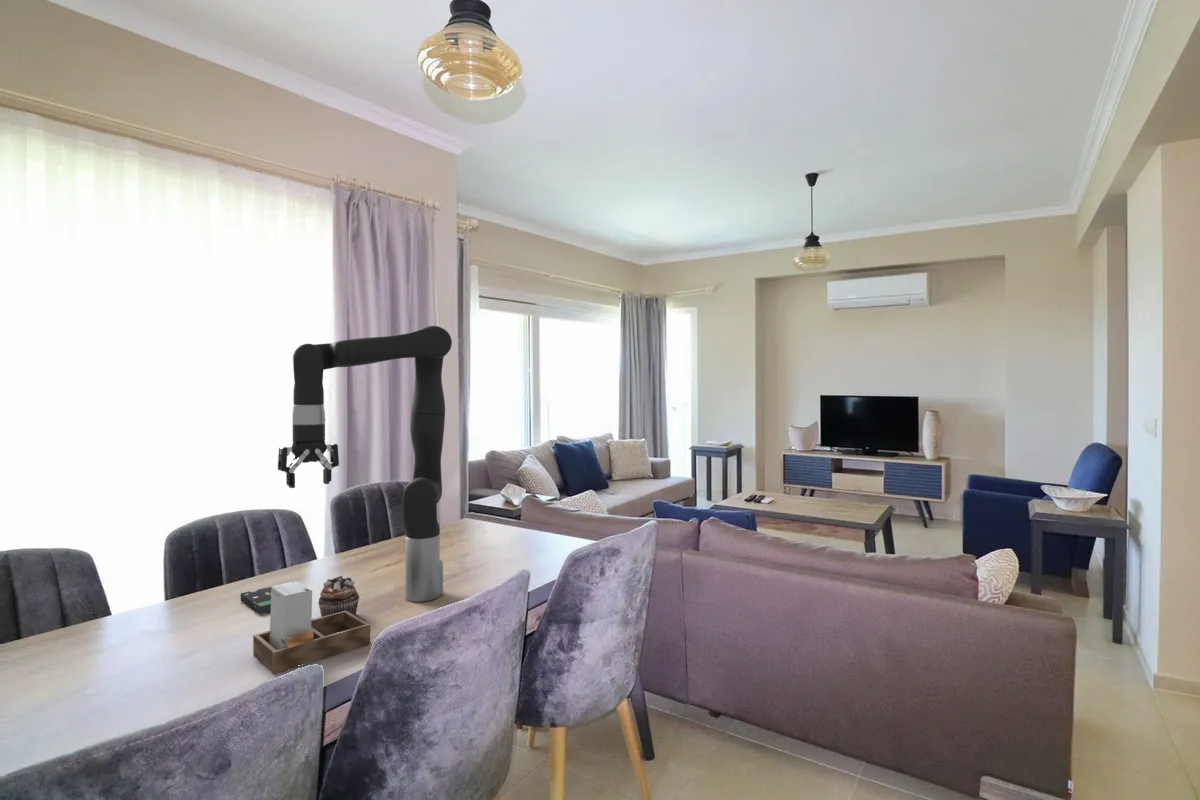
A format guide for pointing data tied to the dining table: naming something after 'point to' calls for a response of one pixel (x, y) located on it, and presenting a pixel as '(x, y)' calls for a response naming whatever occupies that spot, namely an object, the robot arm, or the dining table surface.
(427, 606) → the dining table surface
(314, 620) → the compartment tray
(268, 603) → the disk drive
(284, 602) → the skincare box
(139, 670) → the dining table surface
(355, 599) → the cupcake
